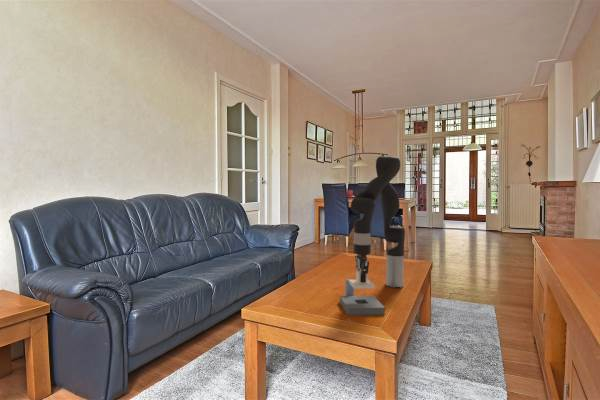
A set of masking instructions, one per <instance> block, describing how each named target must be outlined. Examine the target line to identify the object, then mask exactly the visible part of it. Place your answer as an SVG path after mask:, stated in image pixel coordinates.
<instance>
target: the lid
mask: <svg viewBox="0 0 600 400" xmlns="http://www.w3.org/2000/svg"><path fill="white" fill-rule="evenodd" d="M364 271H365V269H364ZM360 279H361V273H360V270H357V269H356V270H355V279H352V280H349V283H350V285H351V286H352V287H353V288H354V290H370V289H373V290H374V289H376V288H375V284H374V283H373V282H372V281H371V280H370V279H369V278H368V274H366V282H365V283H362V282H361V281H360Z"/></svg>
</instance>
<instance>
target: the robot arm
mask: <svg viewBox="0 0 600 400" xmlns="http://www.w3.org/2000/svg"><path fill="white" fill-rule="evenodd" d="M400 169H401V160H400V158H399V157H397V156H387V155H381V156H378V157H377V158H376V160H375V170H376V172H375V173H376V176H377V177H375V178H372V179H371V180H370V181H369V182H368V183H367V184H366V186H365V188H364V189H363V190H362V191H361V192H359V193H358V194H357V195H355V196H354V197H353V199H352V200H351V203H350V210H351V212H352V213H354V214H360V215H363V217H362V218H357V219H354V225H353V226H354V228H353V229H354V232H353V253H354V254H355V256H354V257H355V258H354V259H355V268H356V270H360V273H361V279H360V281H361V282H362V283H365V282H366V274H367V275H368V274H369V268H370V267H369V266H370V262H369V260H368V257H367V255H370V254H371V252H372V250H371V249H372V247H371V245H372V235H371V223H372V220H373V219H372V218H373V215H374V213H375V210H376V209H375V208H376V204H375V201H376V200H377V199H378V197H380V203H381V212H382V218H383V236H384V240H385V242H387V243H395V244H397V245H396V246H394V247H390V248H387V249H386V267H385V272H386V273H385V285H386V287H389V286H390V288H395V287H400V288H402V286H403V287H404V264H405V262H404V261H405V239H406V238H405V237H406V229H405V227H404V226H396V225H391V223H392V220H393V219H394V217H395V215H397V213H398V211H399V209H400V196H399V193H398V192H397V190H396V189H395V187H394V186H393V185H392V184H391V181H392V180H393V179H394V178H395V177H396V176H397V174H399V172H400ZM364 270H365V271H364Z"/></svg>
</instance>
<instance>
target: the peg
mask: <svg viewBox="0 0 600 400" xmlns="http://www.w3.org/2000/svg"><path fill="white" fill-rule="evenodd" d="M349 280H353V279H348V278H347V279H345V295H344V296H355V294H354V293H355V289H354V288H353V287H352V286H351V285H350V283H349Z"/></svg>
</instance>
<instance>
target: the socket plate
mask: <svg viewBox="0 0 600 400" xmlns="http://www.w3.org/2000/svg"><path fill="white" fill-rule="evenodd" d="M339 303H340V305H341V307H342V309H343V310H344V312H345V313H346V315H347V316H374V315H375V316H376V315H377V316H378V315H382V316H383V315H386V307H385V306H384V305H383V304H382V303H381V302H380V300H378V299H377V298H376V296H374V295H354V296H345V295H340V296H339Z"/></svg>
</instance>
